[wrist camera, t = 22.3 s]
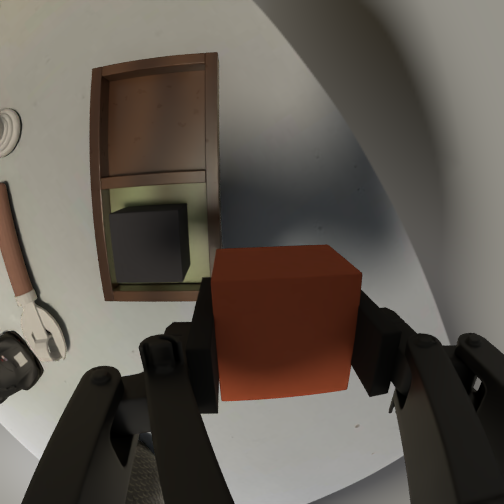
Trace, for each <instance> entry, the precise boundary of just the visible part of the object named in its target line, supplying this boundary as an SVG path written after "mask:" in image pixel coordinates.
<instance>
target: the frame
mask: <svg viewBox="0 0 504 504" xmlns="http://www.w3.org/2000/svg"><path fill="white" fill-rule="evenodd" d="M90 176H91V194H92V207H93V219H94V229H95V238H96V246H97V254H98V261H99V268H100V275H101V281H102V287H103V293H104V298H105V301H197V297H198V293H199V289H200V285H201V281H202V277H212V272H213V266H214V260H215V254H216V249H222V230H221V198H220V154H219V60H218V53H217V52H213V53H198V54H185V55H175V56H165V57H157V58H150V59H143V60H136V61H130V62H124V63H119V64H113V65H108V66H103V67H98V68H94V69H92V81H91V98H90ZM181 203H187V212H188V232H189V248H190V263H191V264H190V267H189V269H188V272H187V274H186V276H185V279H184V281H183V282H159V283H117V280H116V274H115V266H114V259H113V251H112V242H111V233H110V222H109V214H110V213H113V212H115V211H118V210H120V209H123V208H125V207H128V206H143V205H161V204H181Z"/></svg>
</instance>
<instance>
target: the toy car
mask: <svg viewBox="0 0 504 504" xmlns="http://www.w3.org/2000/svg"><path fill="white" fill-rule="evenodd" d="M42 374H43V369H42V366H41V365H40V363H39V361H38V359H37V358H36V357H35V356H34V355H33V354H31V352H30V351H29V350H28V347H27V345H26V343H25V342H24V341H23V339H22V338H21V337H20V336H19V335H18V334H17V333H15V332H13V331H11V332H6V333H5V334H4V335H2V336H1V337H0V404H1V403H3V402H4V401H5V400H6V399H7V398H8V397H9V396H10V395H12V394H14V393H16V392H18V391H20V390H21V389H23V390H29V389H30V388H31V387H33V386H34V385H35V384H36V382H37V381H38V380H39V378H40V377H41V376H42Z"/></svg>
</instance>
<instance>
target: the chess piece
mask: <svg viewBox="0 0 504 504" xmlns="http://www.w3.org/2000/svg"><path fill="white" fill-rule="evenodd" d="M19 135H20V119H19V116H18V115H17V113H16V112H15V111H14V110H12V109H8V108H7V109H3V110H0V157H4V156H6V155H8V154H9V153H10V152H11V151H12V150H13V149H14V147H15V146H16V144H17V141H18V139H19Z"/></svg>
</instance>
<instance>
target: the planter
mask: <svg viewBox="0 0 504 504" xmlns="http://www.w3.org/2000/svg"><path fill="white" fill-rule="evenodd" d="M125 504H164V499H163V495H162V490H161V485H160V480H159V475H158V470H157V464H156V459H155V455H154V454H153V453H152V452H151V451H150V449H149V448H148V447H147V446H146V445H145V444H144V443H143V442H141V441H140V440H138V442H137V447H136V452H135V456H134V461H133V466H132V470H131V475H130V480H129V485H128V490H127V496H126V501H125Z"/></svg>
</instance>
